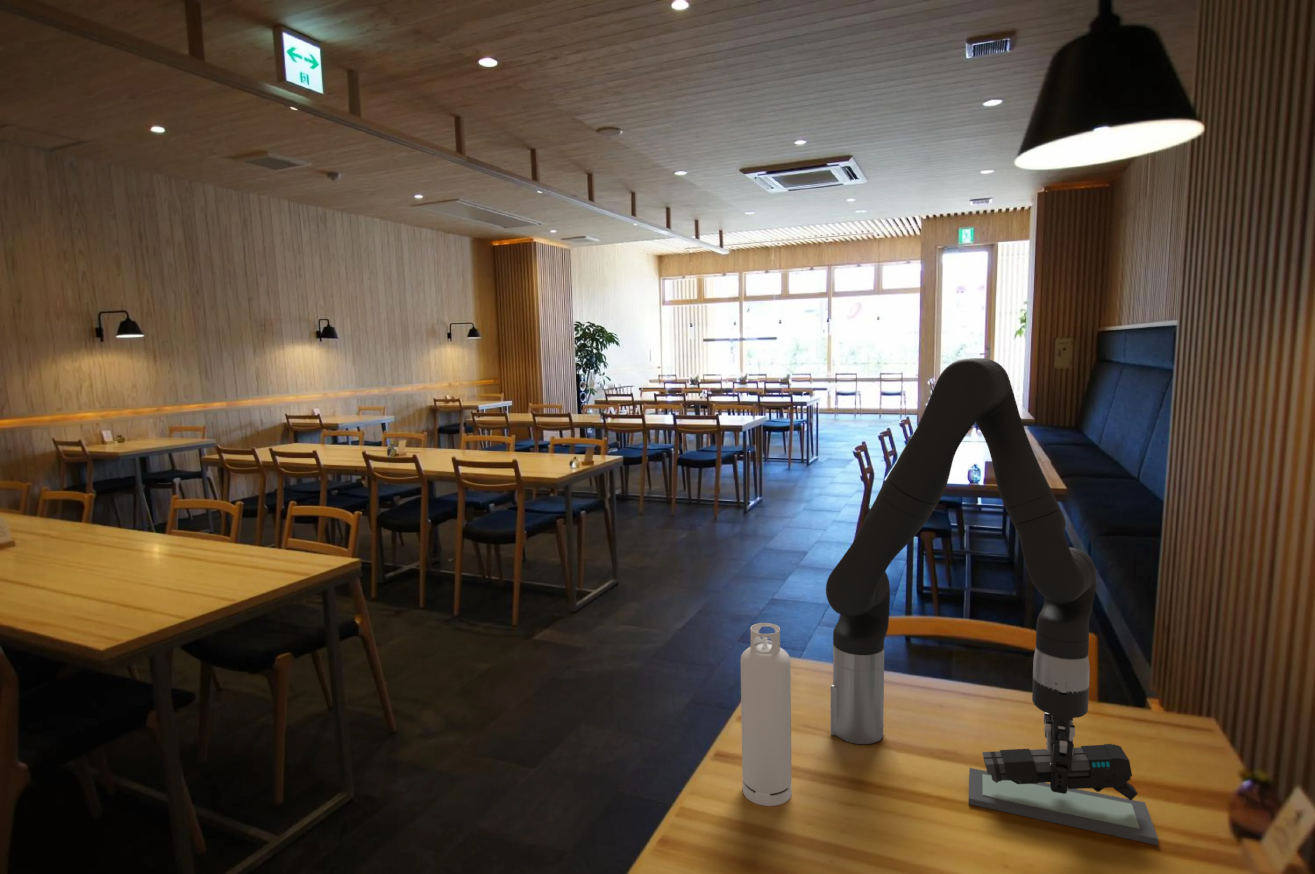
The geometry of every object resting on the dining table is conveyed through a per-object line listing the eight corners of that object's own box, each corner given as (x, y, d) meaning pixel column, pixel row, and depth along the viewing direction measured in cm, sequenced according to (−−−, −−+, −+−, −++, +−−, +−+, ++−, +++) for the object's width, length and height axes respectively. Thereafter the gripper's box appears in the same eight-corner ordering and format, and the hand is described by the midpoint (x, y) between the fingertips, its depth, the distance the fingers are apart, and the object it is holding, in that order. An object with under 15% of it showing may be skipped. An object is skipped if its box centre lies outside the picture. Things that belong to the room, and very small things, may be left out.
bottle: (795, 780, 120) (794, 621, 117) (787, 809, 112) (786, 640, 109) (748, 772, 122) (745, 617, 119) (737, 800, 115) (735, 635, 112)
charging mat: (968, 804, 112) (968, 796, 112) (969, 773, 120) (969, 766, 120) (1157, 845, 102) (1158, 837, 102) (1144, 808, 110) (1145, 801, 110)
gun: (1145, 803, 105) (1122, 741, 105) (1006, 825, 112) (984, 766, 111) (1134, 786, 110) (1112, 726, 110) (1001, 807, 116) (980, 750, 116)
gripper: (1030, 656, 117) (1027, 753, 119) (1036, 694, 104) (1032, 802, 106) (1082, 663, 114) (1078, 762, 116) (1095, 703, 101) (1091, 815, 103)
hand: (1056, 781), depth 111 cm, fingers closed on gun, 4 cm apart
